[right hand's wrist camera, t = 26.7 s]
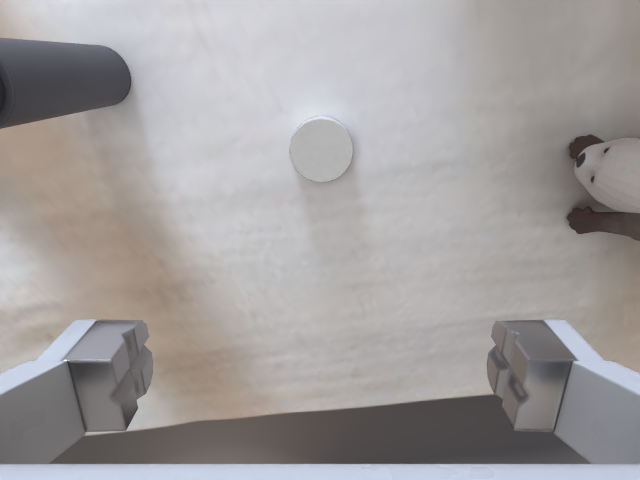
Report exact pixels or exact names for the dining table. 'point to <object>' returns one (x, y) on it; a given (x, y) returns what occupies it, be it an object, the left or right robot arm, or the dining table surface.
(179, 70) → the dining table surface
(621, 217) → the toy
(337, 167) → the lid
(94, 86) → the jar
